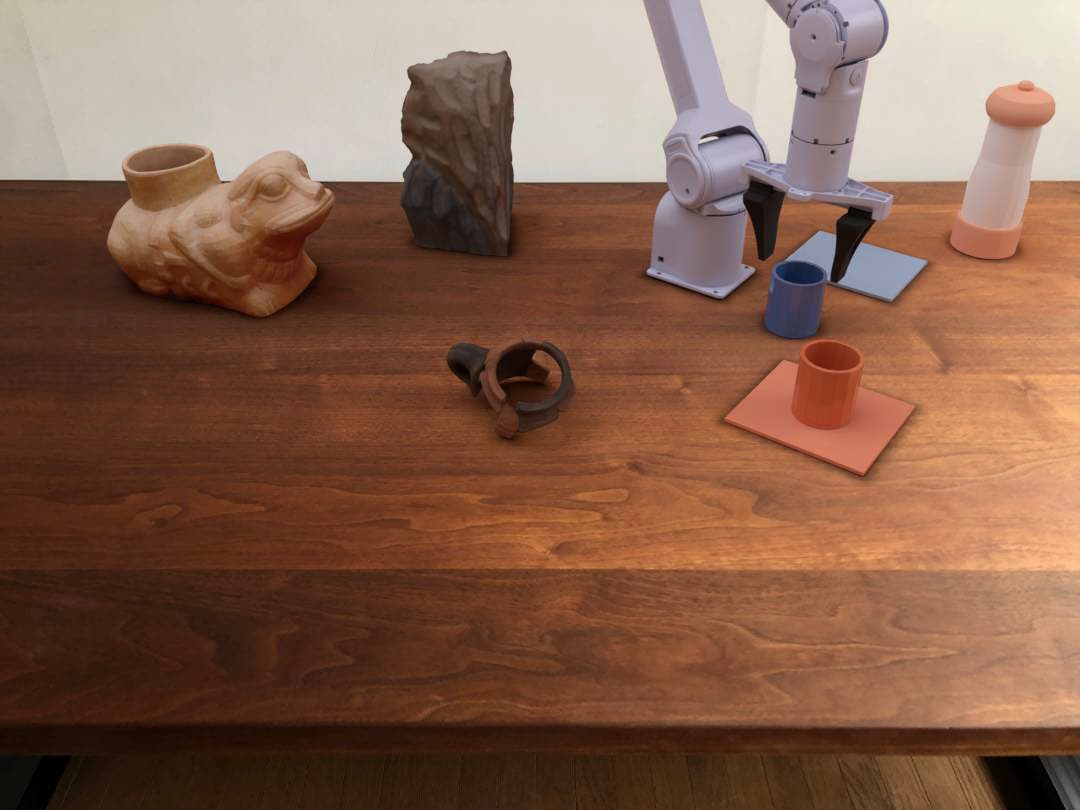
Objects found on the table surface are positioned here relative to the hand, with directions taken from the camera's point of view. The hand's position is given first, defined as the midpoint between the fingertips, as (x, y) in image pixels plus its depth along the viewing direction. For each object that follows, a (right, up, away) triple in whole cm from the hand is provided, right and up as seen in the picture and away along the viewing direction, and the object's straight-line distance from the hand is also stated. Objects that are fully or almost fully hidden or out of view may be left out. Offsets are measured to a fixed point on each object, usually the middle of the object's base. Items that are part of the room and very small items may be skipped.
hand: (800, 267), depth 104 cm
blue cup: (0, -5, +4) cm, 7 cm away
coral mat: (0, -14, -9) cm, 17 cm away
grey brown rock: (-34, +6, +20) cm, 40 cm away
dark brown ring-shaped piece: (-28, -14, -8) cm, 33 cm away
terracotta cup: (0, -14, -9) cm, 17 cm away
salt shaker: (+26, +5, +19) cm, 32 cm away
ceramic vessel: (-59, 0, +11) cm, 60 cm away
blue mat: (+9, +2, +14) cm, 17 cm away
